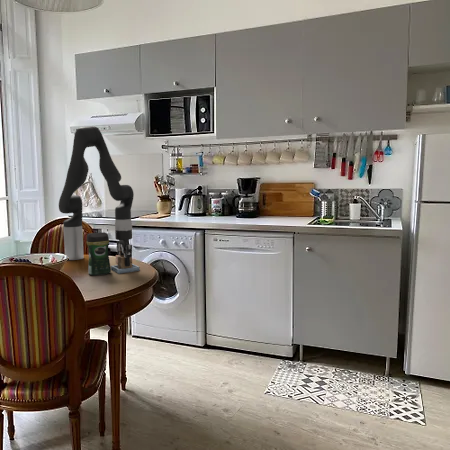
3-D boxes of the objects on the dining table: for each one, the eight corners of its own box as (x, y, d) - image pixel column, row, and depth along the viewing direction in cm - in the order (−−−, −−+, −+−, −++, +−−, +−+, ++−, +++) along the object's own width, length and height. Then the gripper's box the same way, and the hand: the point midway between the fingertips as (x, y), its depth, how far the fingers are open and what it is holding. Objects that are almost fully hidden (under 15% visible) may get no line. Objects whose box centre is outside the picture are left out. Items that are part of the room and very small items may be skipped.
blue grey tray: (110, 269, 200) (110, 265, 200) (131, 266, 206) (131, 263, 205) (118, 273, 192) (118, 269, 192) (139, 270, 197) (139, 266, 197)
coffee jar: (108, 270, 198) (106, 230, 196) (112, 274, 191) (110, 232, 189) (86, 273, 194) (84, 232, 191) (90, 276, 187) (88, 234, 184)
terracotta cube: (115, 263, 215) (115, 255, 214) (123, 262, 217) (123, 254, 216) (118, 264, 211) (118, 256, 211) (126, 263, 214) (126, 255, 213)
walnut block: (118, 268, 199) (117, 256, 199) (128, 267, 202) (127, 254, 201) (121, 270, 195) (121, 257, 195) (132, 269, 198) (131, 256, 197)
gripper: (110, 227, 200) (111, 263, 202) (121, 231, 188) (122, 268, 190) (125, 226, 204) (127, 261, 206) (137, 229, 192) (138, 266, 194)
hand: (124, 264), depth 198 cm, fingers open, 5 cm apart
